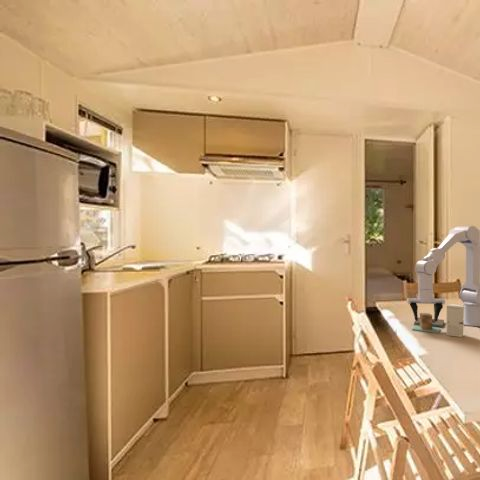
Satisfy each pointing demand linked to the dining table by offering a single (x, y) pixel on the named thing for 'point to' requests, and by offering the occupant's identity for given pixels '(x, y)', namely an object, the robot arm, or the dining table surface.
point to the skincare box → (455, 320)
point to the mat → (418, 328)
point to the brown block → (426, 321)
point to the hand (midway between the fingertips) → (426, 320)
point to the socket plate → (437, 323)
